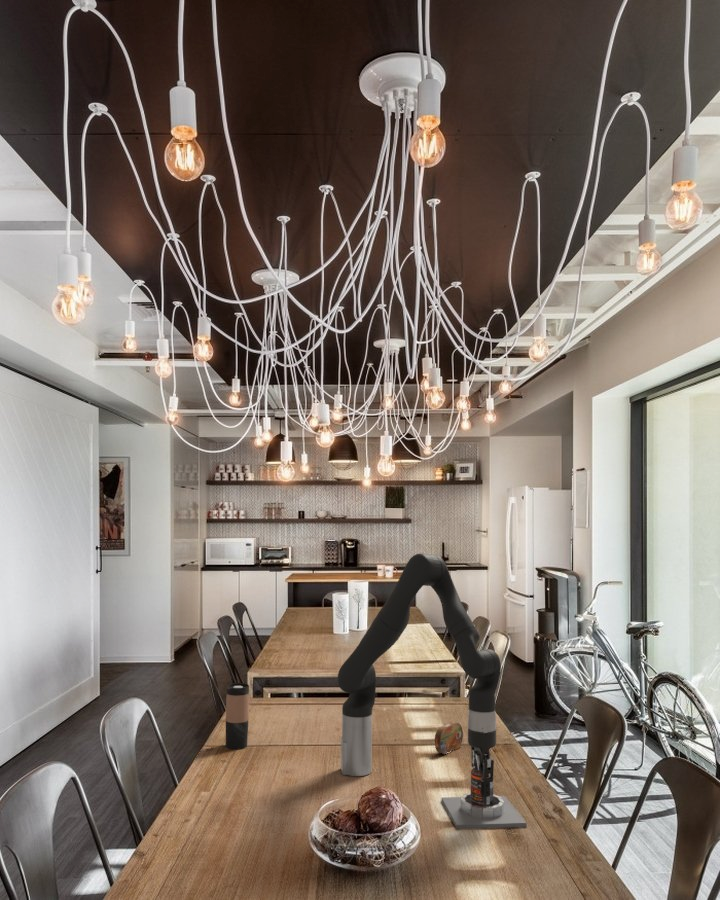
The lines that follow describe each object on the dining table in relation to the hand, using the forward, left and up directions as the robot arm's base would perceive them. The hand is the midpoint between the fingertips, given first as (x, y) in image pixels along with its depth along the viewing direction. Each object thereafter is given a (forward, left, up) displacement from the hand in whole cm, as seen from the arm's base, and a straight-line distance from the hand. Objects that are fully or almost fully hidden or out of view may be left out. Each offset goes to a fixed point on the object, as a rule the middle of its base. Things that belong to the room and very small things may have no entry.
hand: (482, 791), depth 193 cm
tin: (+3, +52, -6) cm, 52 cm away
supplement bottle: (0, 0, -4) cm, 4 cm away
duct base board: (0, 0, -6) cm, 6 cm away
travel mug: (-68, +61, -6) cm, 91 cm away
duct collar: (0, 0, -6) cm, 6 cm away
